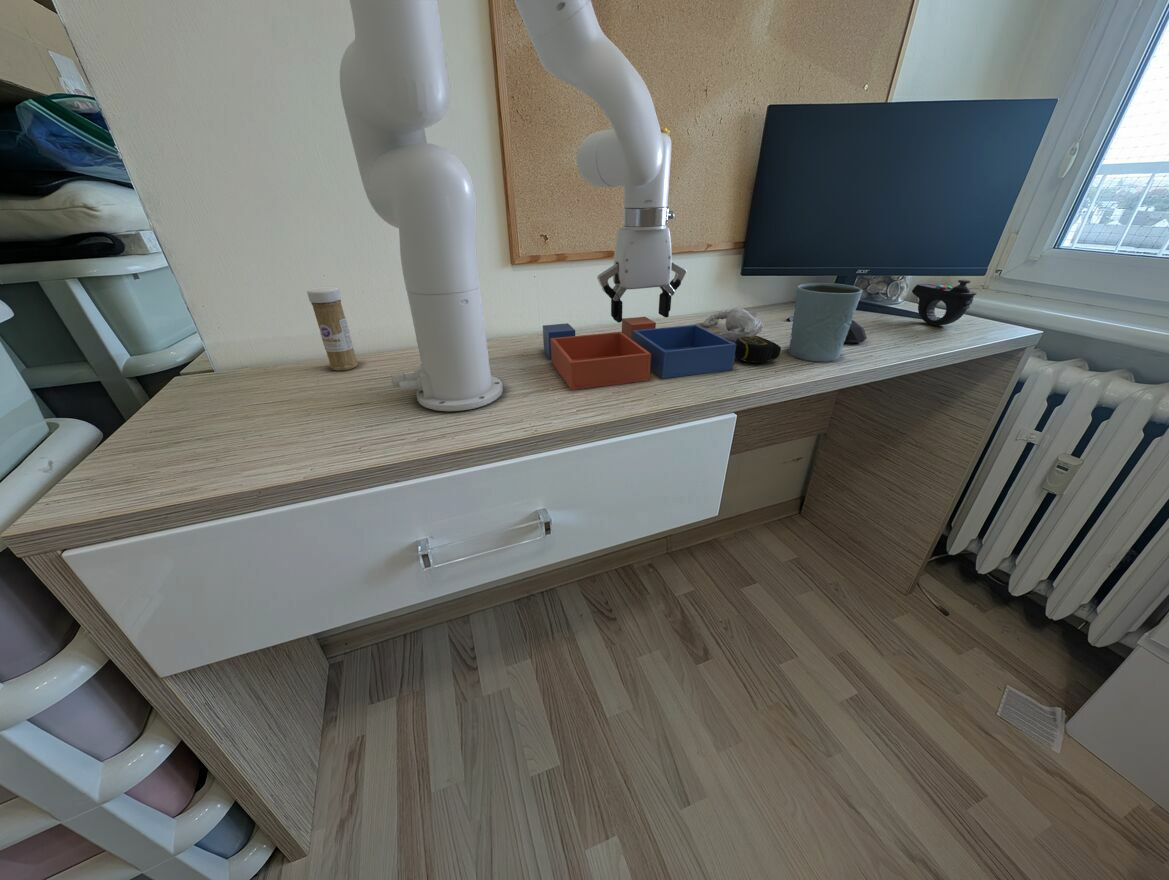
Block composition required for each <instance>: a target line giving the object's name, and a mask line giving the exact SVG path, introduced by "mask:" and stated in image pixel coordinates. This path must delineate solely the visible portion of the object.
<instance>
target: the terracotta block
mask: <svg viewBox="0 0 1169 880" xmlns="http://www.w3.org/2000/svg"><path fill="white" fill-rule="evenodd" d="M655 328H657V322H655V321H654V320H652V319H650V318H649V317H647V316H636V317H635V316H634V317H625V318H623V317H622V322H621V332H622V333H623V334H625V335H626V336H627V337H629V338H630V339H631V340H632V334H633V331H634V330H644V329H655Z"/></svg>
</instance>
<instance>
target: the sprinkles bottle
mask: <svg viewBox="0 0 1169 880" xmlns="http://www.w3.org/2000/svg"><path fill="white" fill-rule="evenodd" d="M306 294H307V297H308V300H309V302H310V305H311V306H312V309H313V313H314V316H315V319H316V322H317V325H318V329H319V333H320V337H321V340H322V343H323V347H324V350H325V352H326V355H327V358H328V362H329V367H330V369H331V370H334V371H349V370H352V369H354V368H356V367H358V365H359V361H358V359H357V356H356V353H355V349H354V344H353V340H352V336H351V333H350V329H349V325H348V322H347V318H346V316H345V313H344V309H343V305H342V300H341V299H342V297H341V293H340V291H339V288H338V287H337V286H329V285H328V286H326V285H325V286H316V287H311V288H309V289H307V290H306Z"/></svg>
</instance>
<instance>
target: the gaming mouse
mask: <svg viewBox="0 0 1169 880" xmlns="http://www.w3.org/2000/svg"><path fill="white" fill-rule="evenodd" d="M867 339H868V337H867V333H866V330H865V328H864V327H863V326H862V325H860V324H859V323H858V322H856V321H855V320H853V319H852V322H851V325H850V327H849V330H848V333H847V336H846V339H845V341H844V343H849V344H854V343H862V342H864V341H866V340H867Z"/></svg>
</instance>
